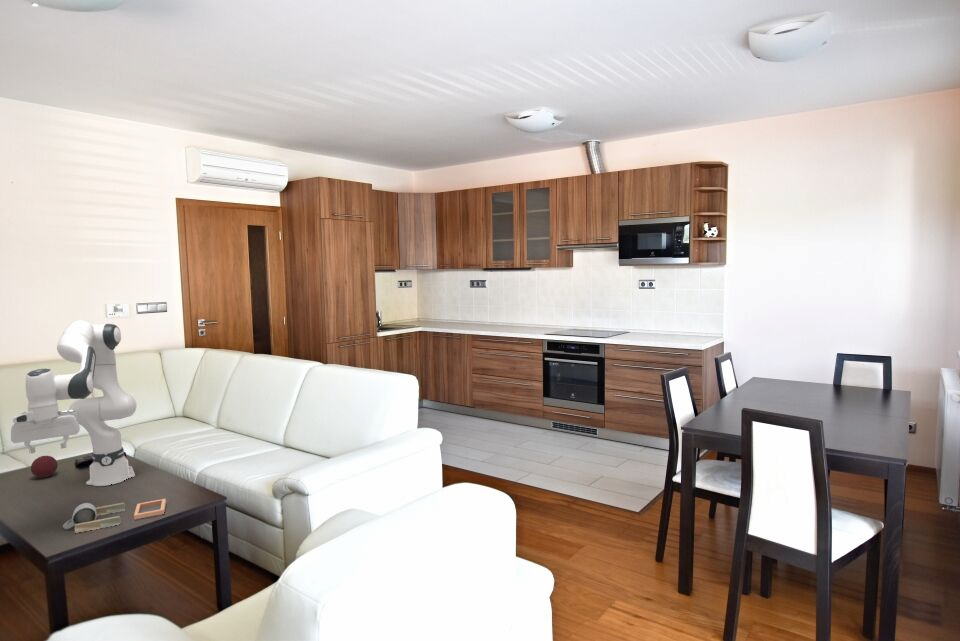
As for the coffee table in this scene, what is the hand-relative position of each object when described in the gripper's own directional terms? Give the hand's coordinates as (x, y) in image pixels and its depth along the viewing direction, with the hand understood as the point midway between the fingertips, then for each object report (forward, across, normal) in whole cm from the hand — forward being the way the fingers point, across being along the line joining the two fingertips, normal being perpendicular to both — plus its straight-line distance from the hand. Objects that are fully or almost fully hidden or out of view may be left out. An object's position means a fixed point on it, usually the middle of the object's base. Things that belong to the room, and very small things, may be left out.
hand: (48, 450), depth 210 cm
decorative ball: (+26, +18, -70) cm, 77 cm away
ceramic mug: (+30, -7, 0) cm, 31 cm away
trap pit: (+30, -30, 0) cm, 43 cm away
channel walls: (+30, -14, 0) cm, 33 cm away
